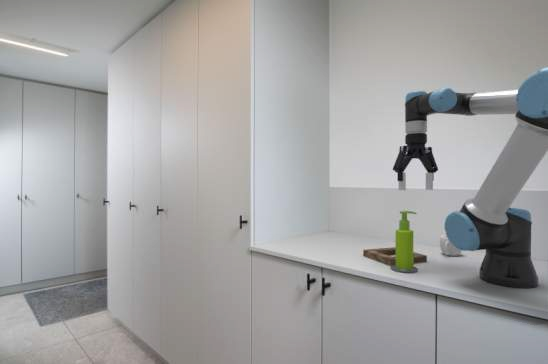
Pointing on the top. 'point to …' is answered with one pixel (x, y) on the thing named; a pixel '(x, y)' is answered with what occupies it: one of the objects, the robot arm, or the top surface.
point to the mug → (448, 247)
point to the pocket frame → (383, 256)
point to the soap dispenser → (404, 243)
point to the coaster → (404, 270)
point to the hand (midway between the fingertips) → (415, 190)
